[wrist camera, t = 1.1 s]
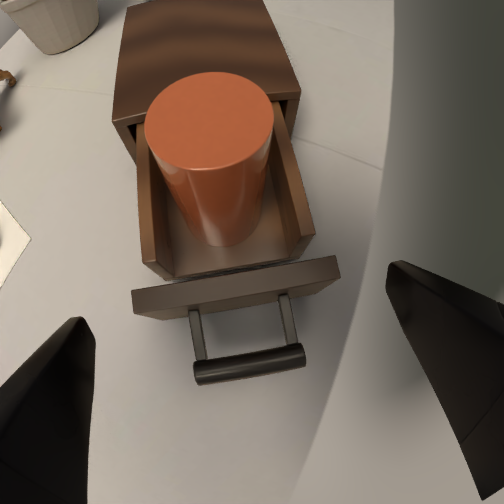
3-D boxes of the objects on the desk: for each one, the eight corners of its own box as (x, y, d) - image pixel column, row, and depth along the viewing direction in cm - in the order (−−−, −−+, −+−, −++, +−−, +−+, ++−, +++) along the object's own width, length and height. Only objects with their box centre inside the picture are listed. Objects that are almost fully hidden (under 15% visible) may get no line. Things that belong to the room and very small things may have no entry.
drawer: (328, 354, 20) (358, 360, 15) (172, 382, 19) (147, 397, 14) (275, 126, 25) (282, 76, 19) (146, 147, 24) (125, 101, 18)
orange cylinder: (273, 230, 21) (296, 144, 12) (198, 259, 21) (161, 191, 11) (244, 165, 22) (244, 59, 13) (174, 191, 22) (133, 94, 12)
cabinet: (287, 154, 25) (301, 91, 18) (143, 178, 24) (111, 121, 17) (253, 44, 29) (256, -14, 21) (143, 61, 28) (127, 6, 20)
